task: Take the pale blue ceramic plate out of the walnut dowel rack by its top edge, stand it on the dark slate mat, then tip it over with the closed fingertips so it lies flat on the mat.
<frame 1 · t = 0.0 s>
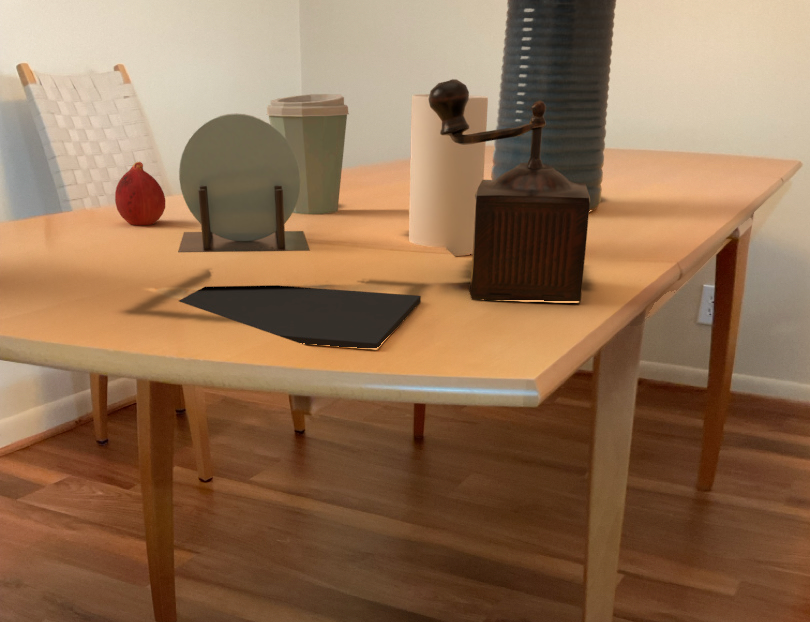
disposable coffee cup: (310, 219, 124), on the table
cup: (444, 251, 106), on the table
pomegranate: (143, 233, 112), on the table
vase: (543, 209, 136), on the table
plate: (244, 240, 103), point 1 cm above the table, touching rack
rack: (244, 249, 103), on the table
mat: (287, 315, 79), on the table
manual coffee grinder: (499, 290, 89), on the table
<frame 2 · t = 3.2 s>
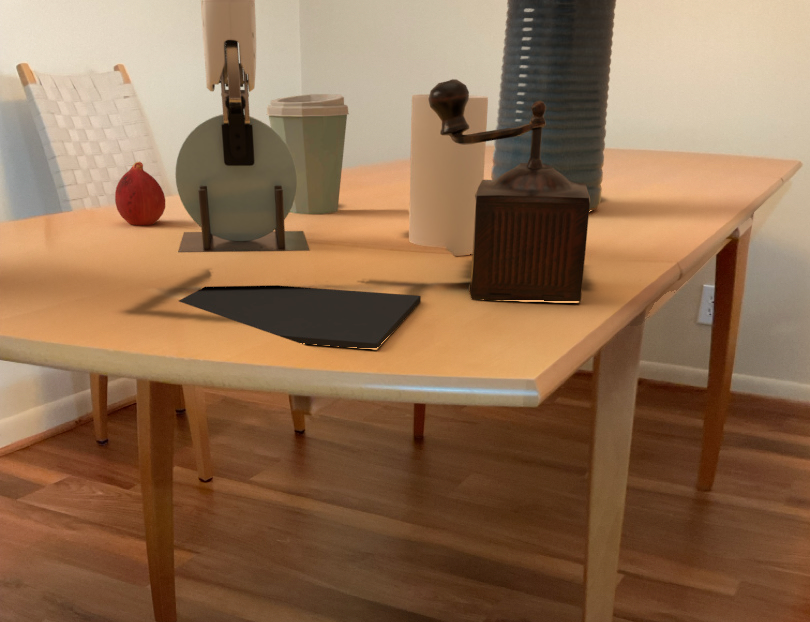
hand: (239, 163, 99), 9 cm above the table, tool pointing down, fingers closed on plate, 1 cm apart
plate: (244, 240, 103), point 1 cm above the table, touching gripper, rack
everything else where it was.
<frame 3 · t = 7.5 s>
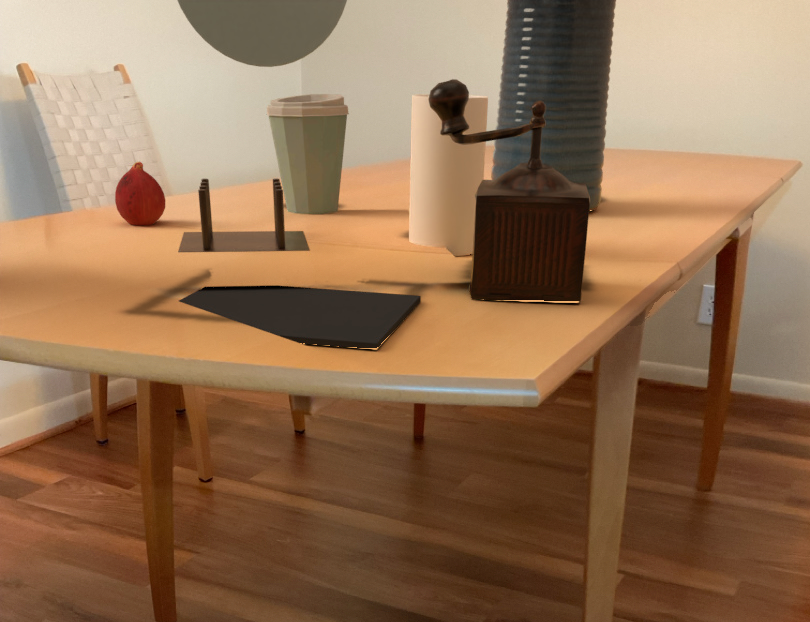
plate: (270, 66, 69), point 19 cm above the table, touching gripper
everything else where it was.
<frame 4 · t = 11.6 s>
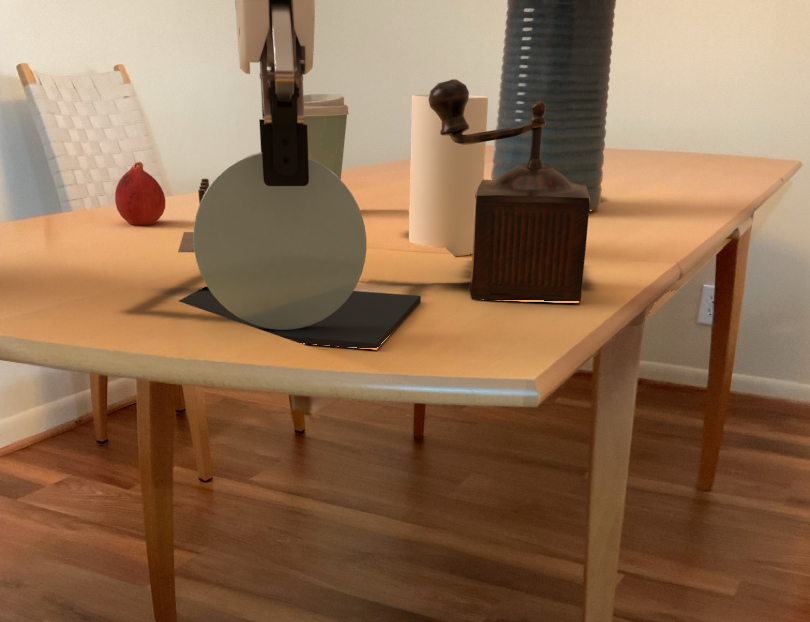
hand: (284, 178, 67), 12 cm above the table, tool pointing down, fingers open, 3 cm apart
plate: (289, 328, 73), point 1 cm above the table, touching mat
everything else where it was.
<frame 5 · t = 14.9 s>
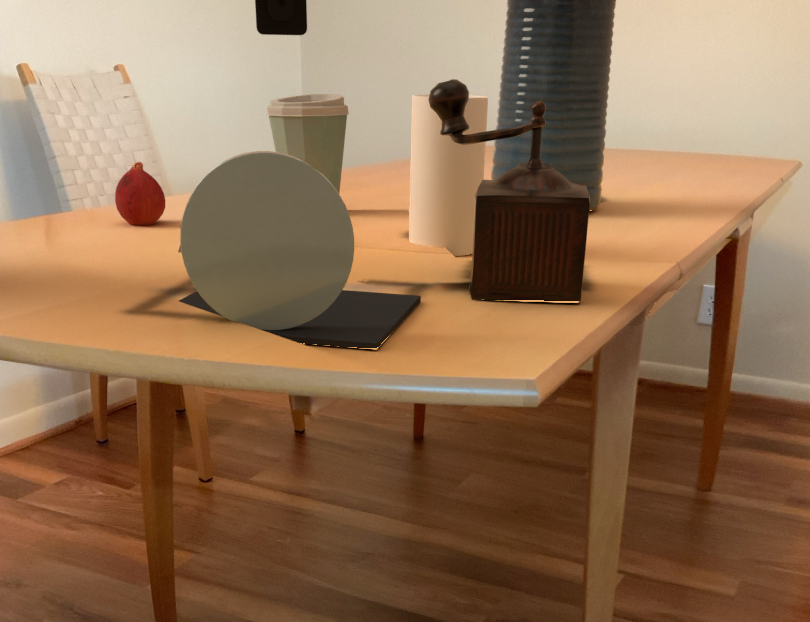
hand: (281, 33, 59), 21 cm above the table, tool pointing down, fingers closed
plate: (289, 326, 73), point 1 cm above the table, tilted 12°, touching mat
everything else where it was.
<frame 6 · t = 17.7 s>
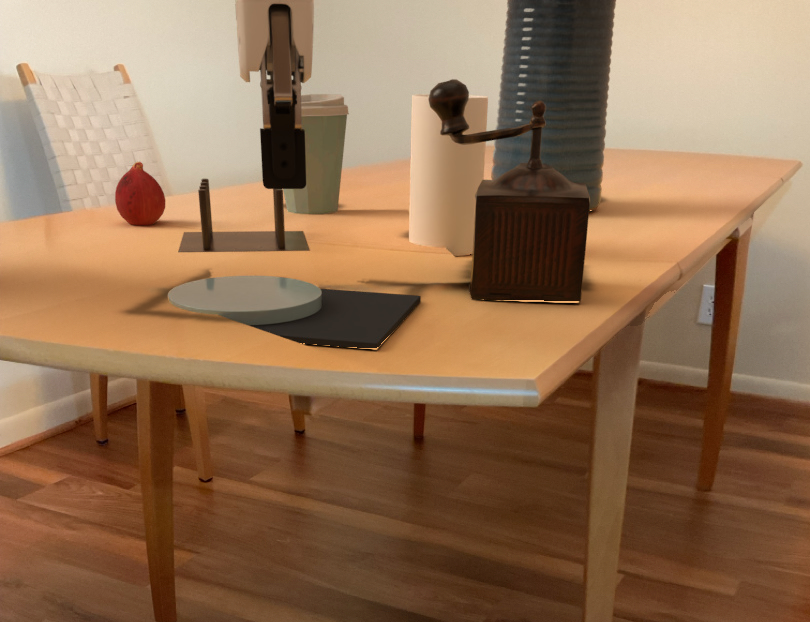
hand: (284, 186, 69), 11 cm above the table, tool pointing down, fingers closed
plate: (286, 314, 74), point 1 cm above the table, tilted 90°, touching mat
everything else where it was.
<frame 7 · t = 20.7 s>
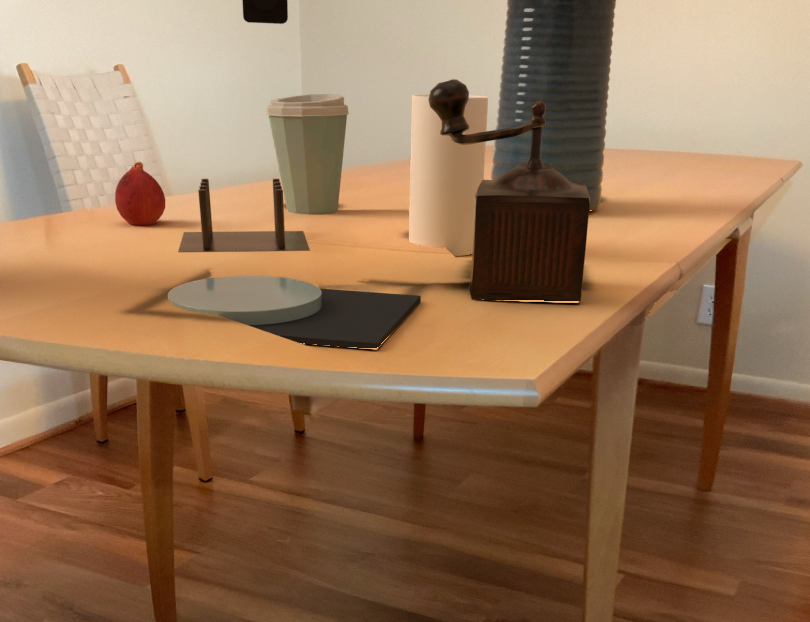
hand: (265, 22, 67), 22 cm above the table, tool pointing down, fingers closed
nothing on the table moved.
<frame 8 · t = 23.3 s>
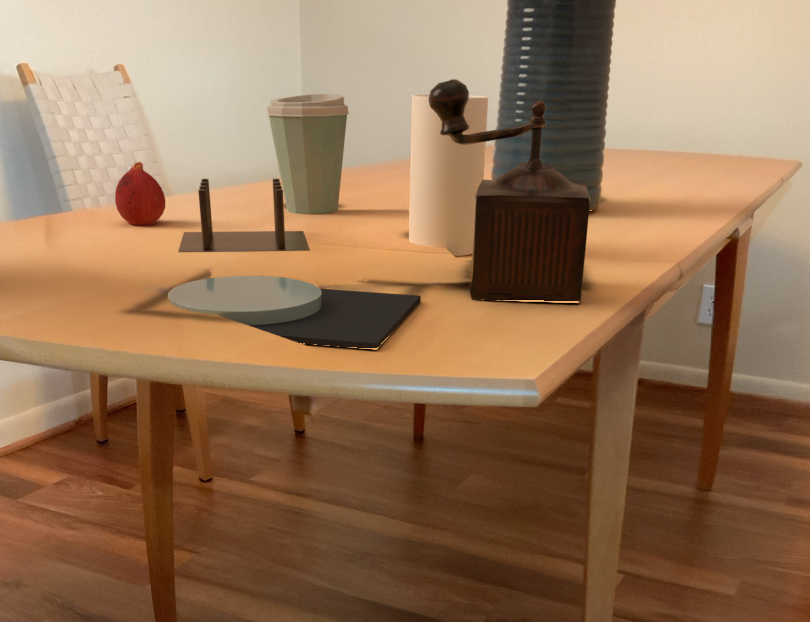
nothing on the table moved.
at the end: plate inside the target area on the mat (4.6 cm from its centre), point 1.2 cm above the mat's base; plate tilted 90°; plate touching mat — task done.
